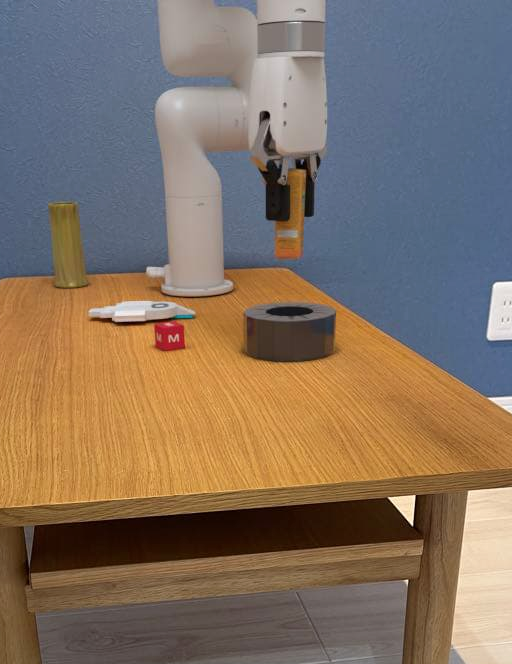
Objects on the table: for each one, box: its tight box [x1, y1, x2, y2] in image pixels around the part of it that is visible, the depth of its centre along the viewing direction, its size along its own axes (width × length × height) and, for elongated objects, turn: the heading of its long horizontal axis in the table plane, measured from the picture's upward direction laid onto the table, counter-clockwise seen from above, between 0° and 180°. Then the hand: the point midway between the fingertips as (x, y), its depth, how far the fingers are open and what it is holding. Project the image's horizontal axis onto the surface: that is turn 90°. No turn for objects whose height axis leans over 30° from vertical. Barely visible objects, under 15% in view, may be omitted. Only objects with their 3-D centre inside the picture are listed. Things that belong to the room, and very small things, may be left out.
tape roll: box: [242, 301, 337, 363], centre depth 109 cm, size 12×12×5 cm
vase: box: [47, 201, 89, 289], centre depth 155 cm, size 6×6×14 cm
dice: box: [153, 320, 186, 352], centre depth 113 cm, size 3×3×3 cm
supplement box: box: [274, 167, 306, 260], centre depth 103 cm, size 3×3×10 cm
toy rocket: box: [88, 300, 196, 323], centre depth 130 cm, size 16×10×2 cm, turn 88°
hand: (290, 216), depth 103 cm, fingers closed on supplement box, 4 cm apart
